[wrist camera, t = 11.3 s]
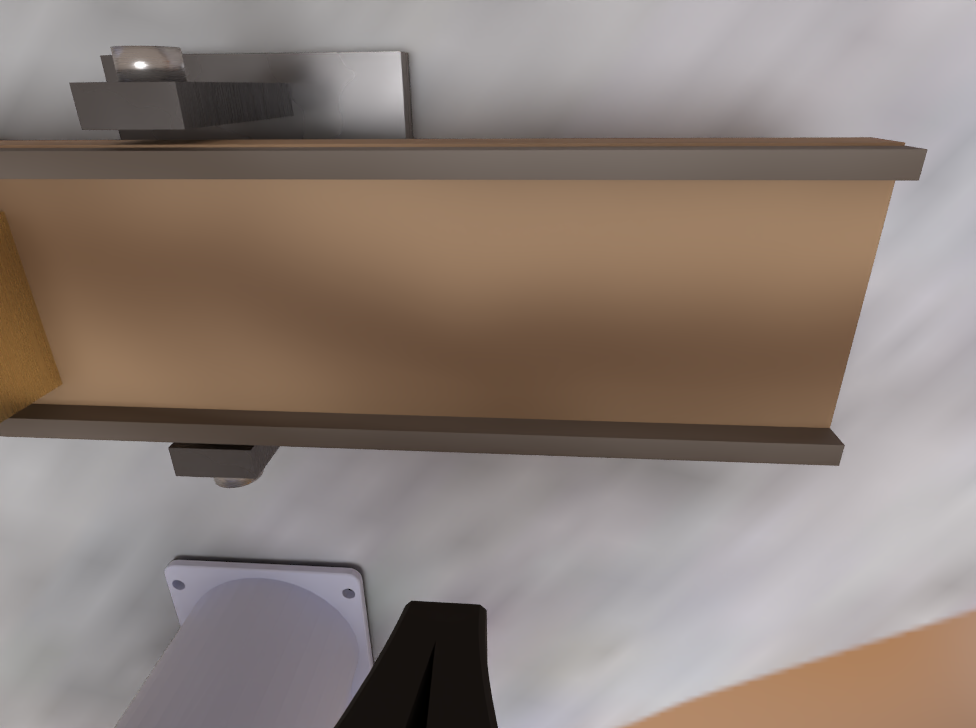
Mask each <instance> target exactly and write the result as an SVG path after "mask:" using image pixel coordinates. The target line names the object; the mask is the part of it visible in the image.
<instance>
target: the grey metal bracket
mask: <svg viewBox="0 0 976 728" xmlns="http://www.w3.org/2000/svg"><path fill="white" fill-rule="evenodd" d="M110 48H111V52H112V55H103V56H100V57H101V61H102V65H103V69H104V73H105V77H106V81H107V82H88V83H70V87H71V91H72V95H73V98H74V102H75V106H76V109H77V113H78V117H79V120H80V124H81V128H82V130H119V133H120V137H121V140H273V139H413V129H412V112H411V94H410V77H409V60H408V53H405V52H401V51H386V52H315V53H244V54H182V52H181V48H177V47H164V46H113V47H110ZM279 447H280V446H262V445H234V444H205V443H177V442H174V443H173V444H172V445H171V446H170V447H169V452H170V456H171V459H172V463H173V467H174V470H175V474H176V476H190V477H214V481H215V483H216V484H217V485H218V486H220V487H224V488H236V487H241V486H245V485H248V484H250V483H252V482H254V481H255V480H257V479H258V478H259V477H260V476H261V475H262V473H263V470H264V468H265V466H266V465H267V463H268V462H269V461H270V459H271V458H272V456H273V455H274V454H275V452H276V451H277V449H278V448H279Z"/></svg>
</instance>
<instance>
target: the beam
mask: <svg viewBox="0 0 976 728" xmlns="http://www.w3.org/2000/svg"><path fill="white" fill-rule="evenodd" d="M904 145H905V143H904V142H898V141H891V140H885V139H878V138H872V137H852V138H562V139H273V140H0V211H2V212H4V213H5V216H6V219H7V221H8V224H9V227H10V230H11V233H12V236H13V239H14V242H15V245H16V248H17V251H18V254H19V257H20V260H21V263H22V266H23V269H24V272H25V275H26V277H27V280H28V283H29V286H30V289H31V292H32V295H33V298H34V301H35V304H36V307H37V310H38V313H39V316H40V319H41V322H42V325H43V328H44V331H45V333H46V336H47V339H48V342H49V345H50V348H51V351H52V354H53V357H54V360H55V363H56V366H57V369H58V372H59V375H60V378H61V381H62V385H60V386H59V387H57V388H56V389H54V390H52V391H51V392H49V393H48V394H46V395H44V396H43V397H41V398H40V399H38V400H36V401H35V402H33V403H32V404H30V405H28V406H27V407H25V408H24V409H22V410H20V411H19V412H17V413H16V414H14V415H12V416H11V417H9V418H8V419H6V420H4V421H3V422H1V423H0V436H5V437H34V438H62V439H91V440H119V441H148V442H177V443H205V444H234V445H262V446H291V447H320V448H348V449H377V450H405V451H434V452H463V453H491V454H520V455H548V456H577V457H606V458H634V459H663V460H691V461H720V462H749V463H777V464H806V465H834V466H839V464H840V460H841V456H842V453H843V449H844V446H845V445H844V444H843V443H842V442H841V441H840V439H839V438H838V437H837V436H836V435H835V434H834V432H833V431H832V430H831V429H830V425H831V422H832V418H833V414H834V410H835V407H836V403H837V399H838V395H839V391H840V388H841V384H842V380H843V376H844V373H845V369H846V365H847V361H848V357H849V354H850V350H851V346H852V342H853V338H854V335H855V331H856V327H857V323H858V320H859V316H860V312H861V308H862V304H863V301H864V297H865V293H866V289H867V285H868V282H869V278H870V274H871V270H872V267H873V263H874V259H875V255H876V251H877V248H878V244H879V240H880V236H881V232H882V229H883V225H884V221H885V217H886V214H887V210H888V206H889V202H890V198H891V195H892V191H893V187H894V183H895V180H919V178H920V174H921V171H922V167H923V164H924V160H925V156H926V153H927V149H922V148H916V147H910V146H904Z"/></svg>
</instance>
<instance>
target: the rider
mask: <svg viewBox="0 0 976 728" xmlns="http://www.w3.org/2000/svg"><path fill="white" fill-rule="evenodd" d="M60 385H62V381H61V378H60V375H59V372H58V369H57V366H56V363H55V360H54V357H53V354H52V351H51V348H50V345H49V342H48V339H47V336H46V333H45V331H44V328H43V325H42V322H41V319H40V316H39V313H38V310H37V307H36V304H35V301H34V298H33V295H32V292H31V289H30V286H29V283H28V280H27V277H26V275H25V272H24V269H23V266H22V263H21V260H20V257H19V254H18V251H17V248H16V245H15V242H14V239H13V236H12V233H11V230H10V227H9V224H8V221H7V219H6V216H5V213H4V212H2V211H0V423H1V422H3V421H4V420H6V419H8V418H9V417H11V416H12V415H14V414H16V413H17V412H19V411H20V410H22V409H24V408H25V407H27V406H28V405H30V404H32V403H33V402H35V401H36V400H38V399H40V398H41V397H43V396H44V395H46V394H48V393H49V392H51V391H52V390H54V389H56V388H57V387H59V386H60Z"/></svg>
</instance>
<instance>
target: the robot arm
mask: <svg viewBox="0 0 976 728" xmlns="http://www.w3.org/2000/svg"><path fill="white" fill-rule="evenodd" d="M164 573H165V577H166V580H167V584H168V587H169V590H170V593H171V597H172V600H173V603H174V607H175V610H176V613H177V616H178V620H179V623H180V626H181V627H180V629H179V630H178V632H177V634H176V635H175V637H174V638H173V640H172V641H171V643H170V644H169V646H168V647H167V649H166V650H165V652H164V653H163V655H162V656H161V658H160V659H159V661H158V662H157V664H156V665H155V667H154V668H153V670H152V671H151V673H150V674H149V676H148V678H147V679H146V681H145V682H144V684H143V685H142V687H141V688H140V690H139V691H138V693H137V694H136V696H135V697H134V699H133V700H132V702H131V703H130V705H129V706H128V708H127V709H126V711H125V712H124V714H123V715H122V717H121V718H120V720H119V722H118V723H117V725H116V726H115V728H498V726H497V721H496V716H495V710H494V705H493V700H492V694H491V688H490V682H489V674H488V665H487V610H486V609H485V608H484V607H482V606H481V605H477V604H459V603H441V602H423V601H411V602H409V603H408V604H407V605H406V606H405V608H404V610H403V612H402V614H401V616H400V618H399V620H398V622H397V624H396V626H395V628H394V630H393V632H392V634H391V635H390V637H389V639H388V641H387V643H386V644H385V646H384V648H383V650H382V652H381V653H380V655H379V657H378V658H377V660H376V662H375V664H374V665H373V659H372V651H371V644H370V636H369V628H368V620H367V612H366V604H365V596H364V588H363V580H362V576H361V574H360V573H359V572H358V571H357V570H355V569H352V568H341V567H320V566H299V565H278V564H257V563H237V562H216V561H195V560H173V561H171V562H170V563H169V564H168V566H167V567H166V568H165V570H164ZM181 581H182V582H181ZM348 589H352V590H353V591H350V590H348Z"/></svg>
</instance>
